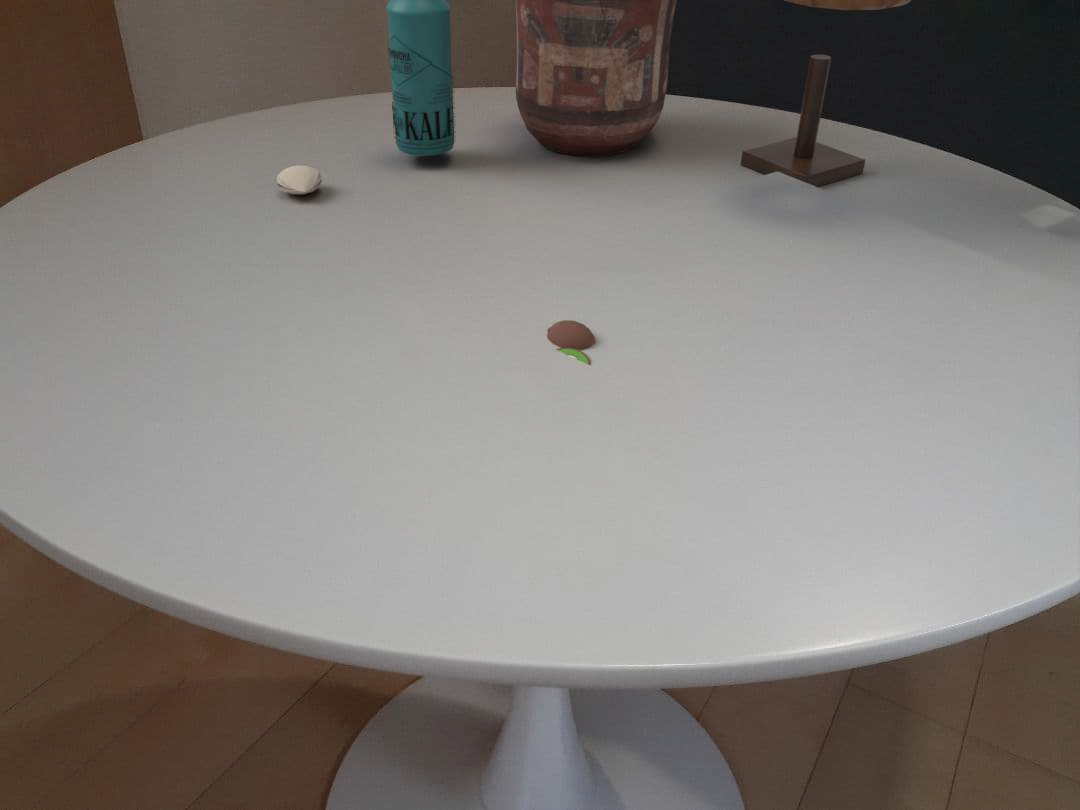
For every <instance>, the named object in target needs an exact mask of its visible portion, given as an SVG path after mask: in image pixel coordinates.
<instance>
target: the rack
mask: <svg viewBox="0 0 1080 810" xmlns="http://www.w3.org/2000/svg"><path fill="white" fill-rule="evenodd" d="M831 60H832V57H831V56H830V55H827V54H819V53H818V54H811V55H810V57H809V63H808V69H807V74H806V79H805V80H806V81H805V86H804V93H803V98H802V104H801V109H800V117H799V121H798V127H797V133H796V137H792V138H788V139H784V140H781V141H777V142H772V143H769V144H765V145H762V146H758V147H757V146H756V147H753V148H749V149H746V150H742V152H741V159H740V165H741V166H743V167H745V168H748V169H751V170H754V171H755V172H758V173H760V174H763V175H770V174H773V173H777V172H778V173H780V174H783V175H785V176H788V177H789V178H794V179H796V180H798V181H800V182H803V183H805V184H808V185H810V186H813V187H815V188H818V187H822V186H824V185H828V184H831V183H835V182H838V181H841V180H845V179H848V178H851V177H854V176H855V177H856V176H858V175H861V174H863V173H864V169H865V165H866V164H865V163H866V159H865V158H862V157H859V156H857V155H855V154H851V153H848V152H845V151H843V150H839V149H837V148H835V147H831V146H829V145H826V144H823V143H820V142H818V141H817V138H818V133H819V128H820V123H821V115H822V112H823V111H822V110H823V104H824V100H825V94H826V89H827V83H828V78H829V72H830V67H831V63H832V61H831Z"/></svg>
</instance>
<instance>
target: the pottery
mask: <svg viewBox="0 0 1080 810" xmlns="http://www.w3.org/2000/svg"><path fill="white" fill-rule="evenodd" d="M676 5H677V0H514V8H515V39H516V40H515V41H516V43H515V44H516V45H515V46H516V48H515V49H516V50H515V82H514V83H515V84H514V85H515V86H514V87H515V100H516V104H517V108H518V111H519V114H520V116H521V119H522V121H523V122H524V125H525V127H526V130H527V131H528V132H529V134H531V136H532V137H533V138H534V139H535V140H536V141H537V142H538V143H539V142H540V143H541V144H540V143H539V144H540V145H541V146H543V145H544V146H545V147H544V146H543V147H544V148H546V147H548V148H550V149H549V150H551V149H552V150H551V151H553V150H554V151H553V152H556V151H559V152H558V153H561V152H563V153H562V154H565V153H566V154H565V155H569V154H571V155H570V156H582V157H598V156H599V157H604V156H605V157H606V156H610V155H616V154H621V153H624V152H626V151H627V152H628V151H629V150H632V149H633V148H635V146H637V145H638V144H639V143H640V142H641V141H642V140H644V139H645V137H647V136H648V135H649V134H650V133H652V131H653V129H654V127H655V126H656V124H657V122H658V121H659V119H660V117H661V115H662V112H663V109H664V105H665V100H666V93H667V88H668V78H669V77H668V76H669V75H668V74H669V58H670V45H671V44H670V43H671V38H672V30H673V23H674V16H675V10H676ZM548 148H547V149H548Z"/></svg>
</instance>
